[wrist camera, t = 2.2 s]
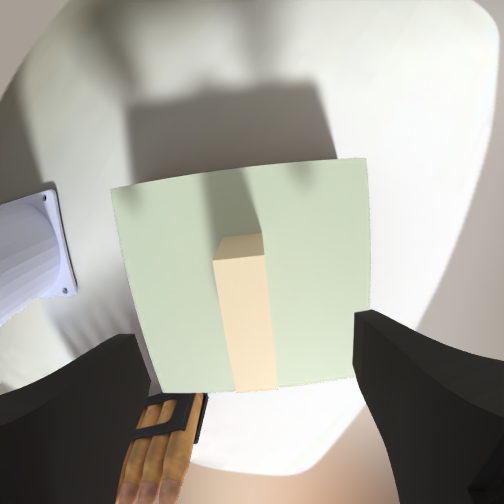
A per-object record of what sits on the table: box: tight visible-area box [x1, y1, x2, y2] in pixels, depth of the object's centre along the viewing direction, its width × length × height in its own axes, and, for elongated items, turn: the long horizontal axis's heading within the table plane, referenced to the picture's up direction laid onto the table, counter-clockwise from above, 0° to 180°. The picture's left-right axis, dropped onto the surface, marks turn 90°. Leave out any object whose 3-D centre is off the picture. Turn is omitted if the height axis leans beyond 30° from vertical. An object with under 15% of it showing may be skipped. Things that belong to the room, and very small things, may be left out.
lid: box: [110, 158, 371, 393], centre depth 14 cm, size 12×12×5 cm
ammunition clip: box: [116, 393, 208, 504], centre depth 17 cm, size 11×2×12 cm, turn 118°
